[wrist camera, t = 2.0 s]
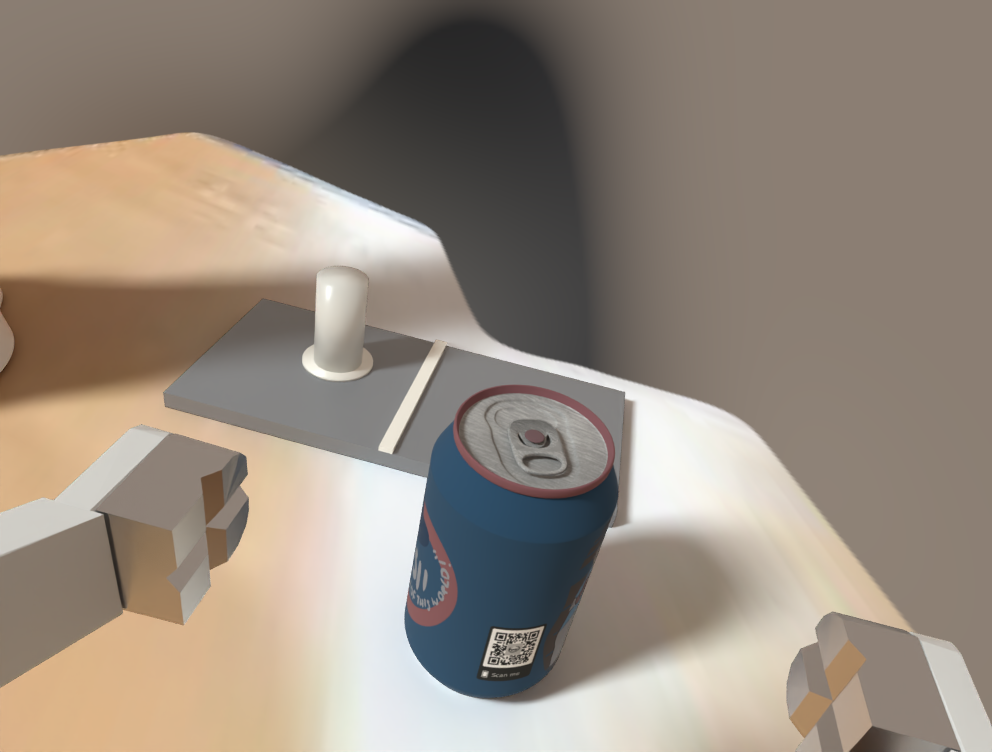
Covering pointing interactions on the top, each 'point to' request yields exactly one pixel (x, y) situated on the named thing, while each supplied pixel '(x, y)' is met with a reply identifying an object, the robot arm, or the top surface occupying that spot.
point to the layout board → (355, 380)
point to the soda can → (508, 537)
